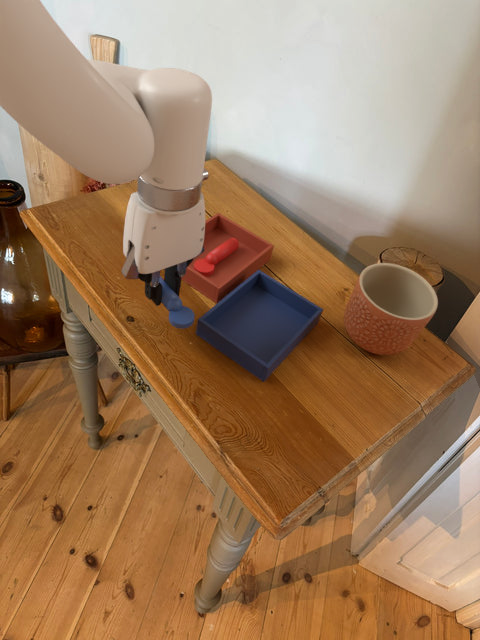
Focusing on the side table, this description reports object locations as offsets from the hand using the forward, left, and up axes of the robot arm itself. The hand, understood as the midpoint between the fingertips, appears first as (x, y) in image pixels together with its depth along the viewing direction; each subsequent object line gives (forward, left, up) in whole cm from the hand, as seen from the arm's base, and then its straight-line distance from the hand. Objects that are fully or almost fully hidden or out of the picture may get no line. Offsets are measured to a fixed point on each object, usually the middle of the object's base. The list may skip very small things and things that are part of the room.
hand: (162, 295), depth 68 cm
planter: (+27, +23, -7) cm, 36 cm away
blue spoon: (+2, 0, 0) cm, 2 cm away
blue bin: (+12, +10, -6) cm, 17 cm away
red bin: (-3, +18, -6) cm, 19 cm away
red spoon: (-3, +18, -6) cm, 19 cm away
